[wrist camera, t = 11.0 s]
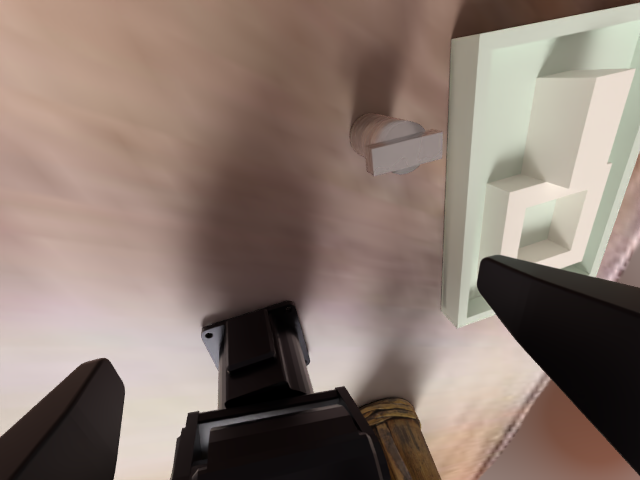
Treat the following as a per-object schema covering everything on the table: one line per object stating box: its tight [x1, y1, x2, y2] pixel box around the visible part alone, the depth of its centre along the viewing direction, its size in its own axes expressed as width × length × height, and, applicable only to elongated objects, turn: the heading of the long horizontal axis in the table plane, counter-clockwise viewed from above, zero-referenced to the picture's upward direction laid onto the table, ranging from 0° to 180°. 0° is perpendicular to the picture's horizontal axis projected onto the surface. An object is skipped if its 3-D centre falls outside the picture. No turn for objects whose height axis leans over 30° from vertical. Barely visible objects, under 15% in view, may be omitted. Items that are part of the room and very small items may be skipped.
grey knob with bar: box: [350, 113, 443, 176], centre depth 16 cm, size 2×3×5 cm
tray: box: [441, 3, 640, 328], centre depth 22 cm, size 20×14×2 cm
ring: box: [476, 68, 636, 277], centre depth 21 cm, size 14×8×4 cm, turn 10°
